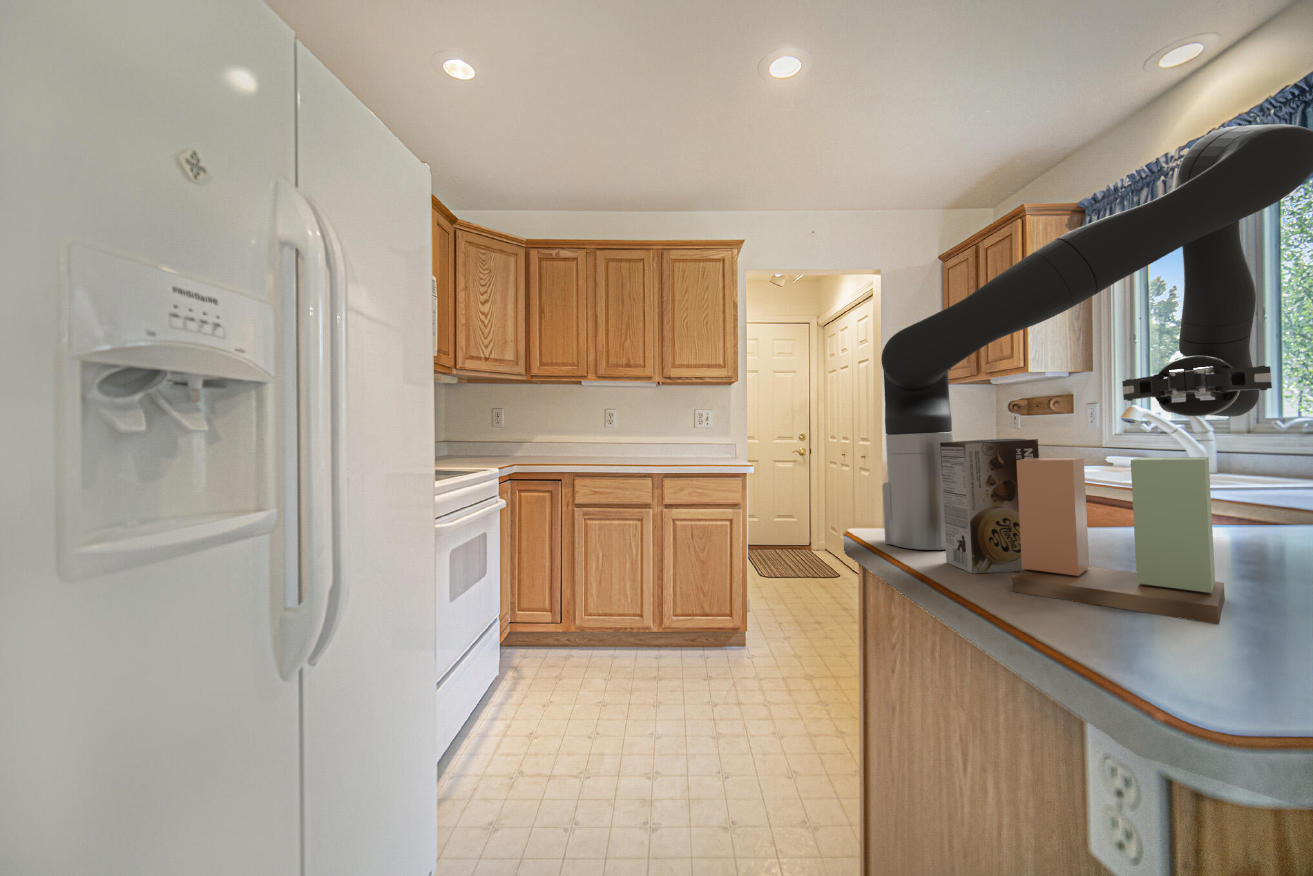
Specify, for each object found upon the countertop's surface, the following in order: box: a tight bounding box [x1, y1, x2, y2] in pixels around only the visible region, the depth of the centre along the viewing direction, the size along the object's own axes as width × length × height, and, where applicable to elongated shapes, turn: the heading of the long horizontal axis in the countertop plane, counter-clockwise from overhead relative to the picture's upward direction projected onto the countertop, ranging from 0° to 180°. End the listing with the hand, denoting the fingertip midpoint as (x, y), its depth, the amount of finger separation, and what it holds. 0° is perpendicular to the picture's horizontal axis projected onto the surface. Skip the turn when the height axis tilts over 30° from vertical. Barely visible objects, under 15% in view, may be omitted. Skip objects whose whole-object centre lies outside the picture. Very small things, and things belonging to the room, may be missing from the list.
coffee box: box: [940, 438, 1040, 574], centre depth 67 cm, size 9×6×16 cm
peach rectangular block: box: [1017, 457, 1090, 576], centre depth 58 cm, size 5×5×12 cm
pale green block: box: [1130, 456, 1216, 593], centre depth 51 cm, size 5×5×12 cm
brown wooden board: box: [1011, 566, 1226, 625], centre depth 54 cm, size 15×10×2 cm, turn 41°
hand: (1184, 381), depth 57 cm, fingers closed
